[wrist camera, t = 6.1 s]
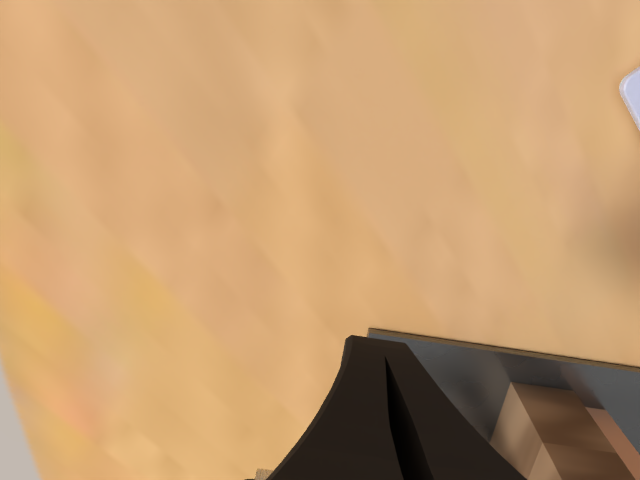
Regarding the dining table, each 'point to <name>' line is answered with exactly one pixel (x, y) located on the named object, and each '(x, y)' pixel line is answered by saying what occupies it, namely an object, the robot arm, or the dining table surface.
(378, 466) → the robot arm
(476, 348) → the base plate
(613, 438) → the collar
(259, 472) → the crank handle
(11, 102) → the dining table surface
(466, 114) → the dining table surface
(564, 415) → the bearing block
